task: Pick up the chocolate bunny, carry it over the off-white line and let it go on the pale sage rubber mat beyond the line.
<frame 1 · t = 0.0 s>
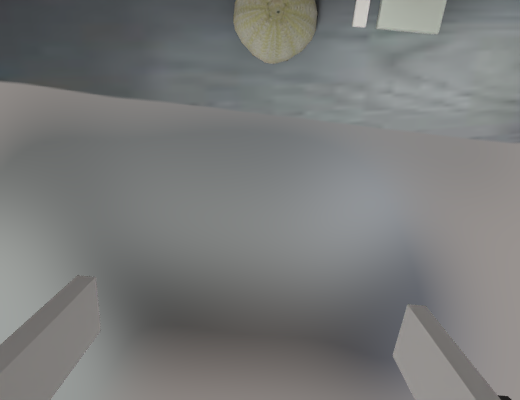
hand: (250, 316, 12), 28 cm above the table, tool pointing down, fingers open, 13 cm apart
sea urchin shell: (274, 21, 34), on the table
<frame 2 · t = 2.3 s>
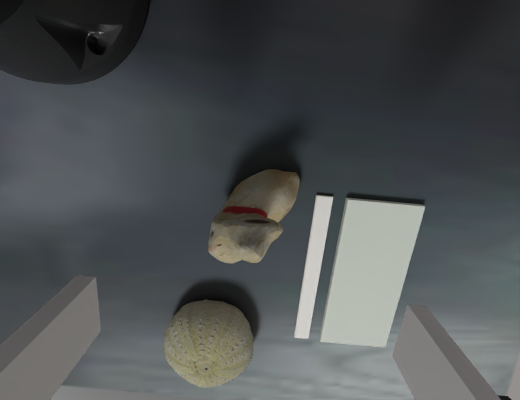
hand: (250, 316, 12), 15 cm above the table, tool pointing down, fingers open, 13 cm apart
sea urchin shell: (212, 327, 32), on the table
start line: (311, 271, 29), on the table
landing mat: (366, 276, 29), on the table
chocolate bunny: (257, 199, 27), on the table
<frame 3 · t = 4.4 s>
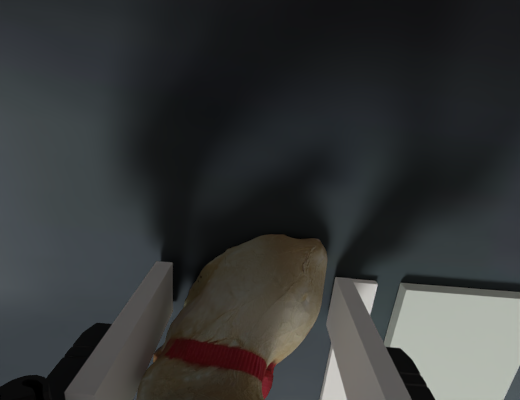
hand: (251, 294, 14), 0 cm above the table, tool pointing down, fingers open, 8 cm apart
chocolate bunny: (247, 285, 15), on the table, touching gripper
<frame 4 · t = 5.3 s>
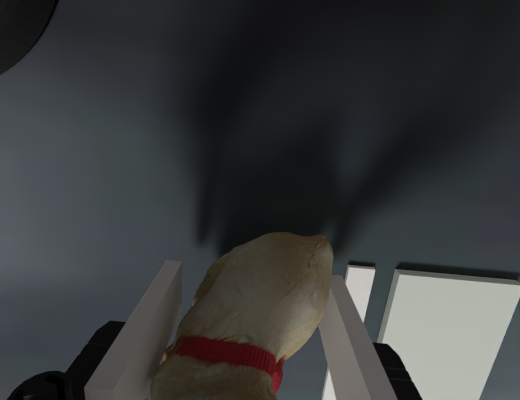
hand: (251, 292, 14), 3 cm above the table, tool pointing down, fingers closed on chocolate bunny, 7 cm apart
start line: (337, 374, 19), on the table
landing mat: (421, 382, 19), on the table
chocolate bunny: (253, 283, 15), point 2 cm above the table, touching gripper
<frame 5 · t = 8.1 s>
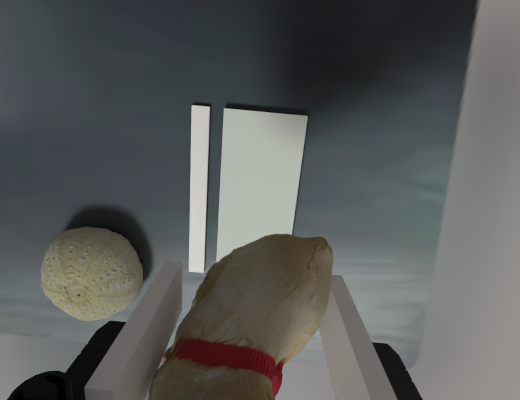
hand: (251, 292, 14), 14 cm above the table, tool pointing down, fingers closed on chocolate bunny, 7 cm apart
sea urchin shell: (105, 262, 30), on the table
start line: (199, 195, 27), on the table
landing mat: (257, 201, 27), on the table
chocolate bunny: (253, 285, 15), point 13 cm above the table, touching gripper
when the fingers open (2 cm above the table, at t = 10.9 s): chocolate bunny stays where it is, resting on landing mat.
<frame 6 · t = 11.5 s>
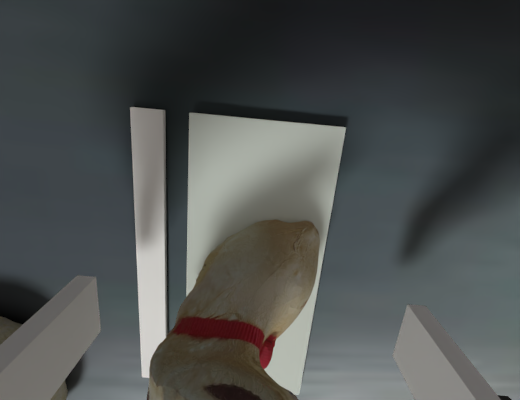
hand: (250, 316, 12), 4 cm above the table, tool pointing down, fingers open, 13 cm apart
sea urchin shell: (9, 359, 19), on the table
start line: (152, 261, 16), on the table
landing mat: (253, 270, 16), on the table
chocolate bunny: (249, 270, 16), resting on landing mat
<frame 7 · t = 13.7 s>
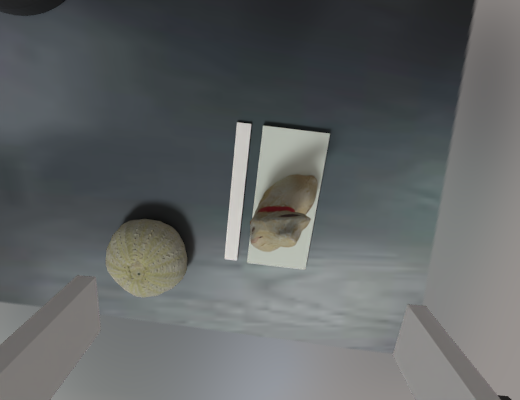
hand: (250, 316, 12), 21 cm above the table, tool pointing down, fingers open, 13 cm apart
sea urchin shell: (154, 250, 36), on the table
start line: (237, 195, 33), on the table
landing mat: (285, 201, 33), on the table
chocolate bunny: (283, 200, 33), resting on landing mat
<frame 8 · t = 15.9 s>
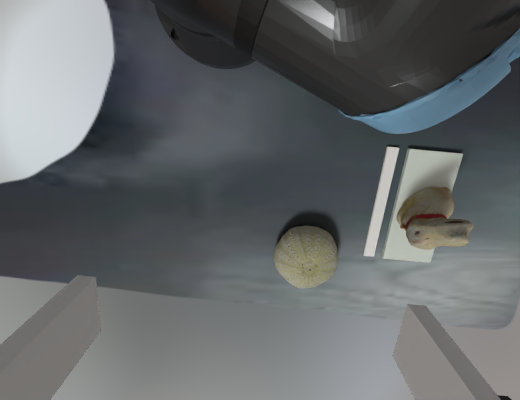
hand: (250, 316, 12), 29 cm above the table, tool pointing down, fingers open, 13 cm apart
sea urchin shell: (304, 250, 44), on the table
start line: (379, 204, 41), on the table
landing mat: (418, 207, 41), on the table
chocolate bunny: (418, 207, 41), resting on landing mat
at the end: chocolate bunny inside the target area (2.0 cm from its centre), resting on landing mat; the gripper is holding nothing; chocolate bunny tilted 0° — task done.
